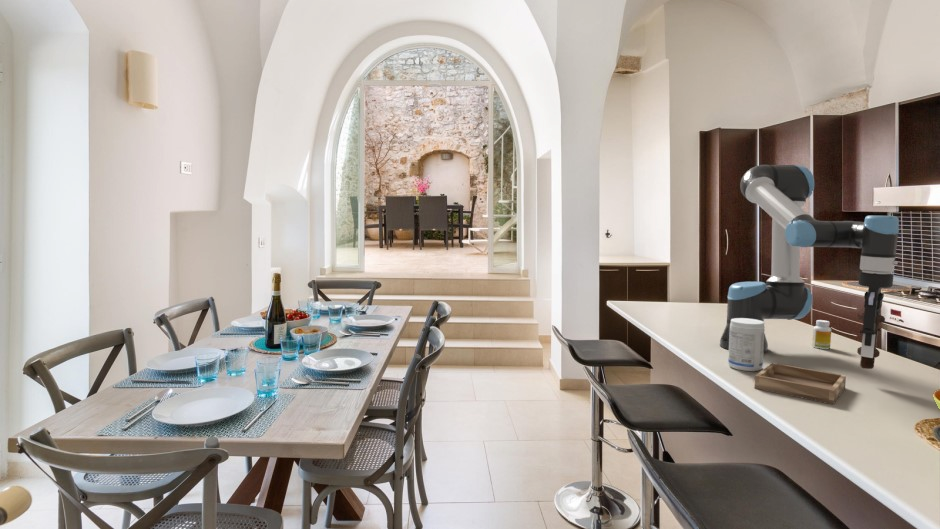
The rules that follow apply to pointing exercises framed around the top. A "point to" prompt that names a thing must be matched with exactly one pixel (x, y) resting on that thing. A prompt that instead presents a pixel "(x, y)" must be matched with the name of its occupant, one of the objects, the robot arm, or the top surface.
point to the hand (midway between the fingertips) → (868, 354)
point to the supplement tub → (746, 344)
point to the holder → (801, 382)
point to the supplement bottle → (822, 335)
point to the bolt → (869, 362)
